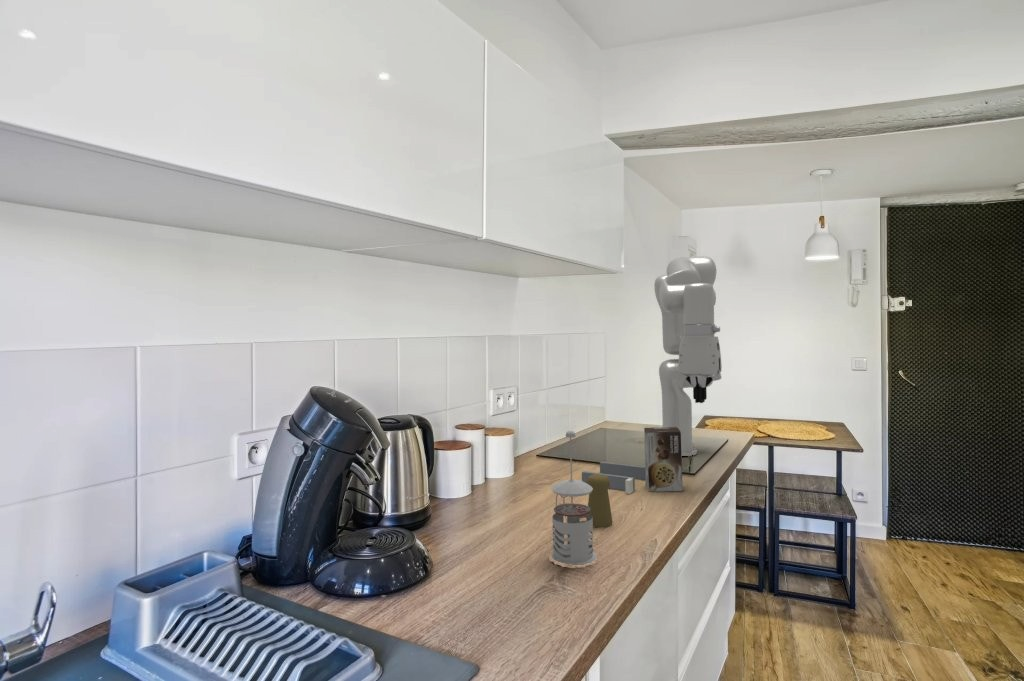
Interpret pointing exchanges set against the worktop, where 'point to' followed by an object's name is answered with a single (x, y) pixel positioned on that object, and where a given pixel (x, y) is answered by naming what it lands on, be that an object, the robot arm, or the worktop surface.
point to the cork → (599, 500)
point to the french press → (572, 522)
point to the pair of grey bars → (619, 475)
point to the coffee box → (663, 459)
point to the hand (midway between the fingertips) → (700, 402)
